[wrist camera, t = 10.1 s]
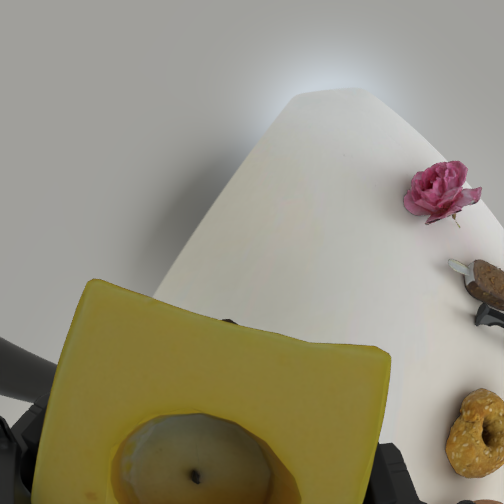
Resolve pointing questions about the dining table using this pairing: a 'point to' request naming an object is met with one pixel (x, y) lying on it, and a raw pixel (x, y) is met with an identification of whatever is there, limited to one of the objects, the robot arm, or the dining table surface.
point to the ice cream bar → (482, 281)
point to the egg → (487, 502)
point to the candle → (204, 411)
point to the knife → (489, 316)
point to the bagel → (477, 435)
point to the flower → (440, 191)
